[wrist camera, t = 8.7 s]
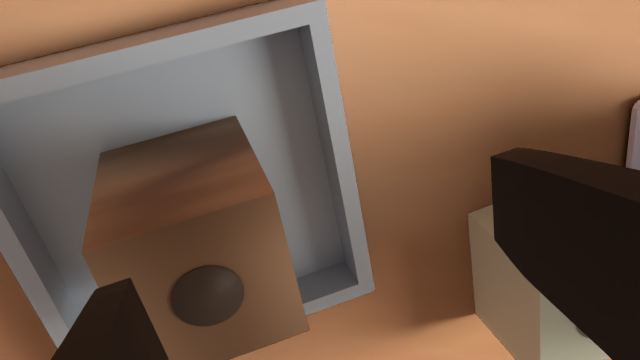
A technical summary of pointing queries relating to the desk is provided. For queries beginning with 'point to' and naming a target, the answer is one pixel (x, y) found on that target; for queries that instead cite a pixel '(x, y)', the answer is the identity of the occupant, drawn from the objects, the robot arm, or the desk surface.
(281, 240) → the block
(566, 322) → the oversize block
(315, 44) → the tray
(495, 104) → the desk surface
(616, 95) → the desk surface
